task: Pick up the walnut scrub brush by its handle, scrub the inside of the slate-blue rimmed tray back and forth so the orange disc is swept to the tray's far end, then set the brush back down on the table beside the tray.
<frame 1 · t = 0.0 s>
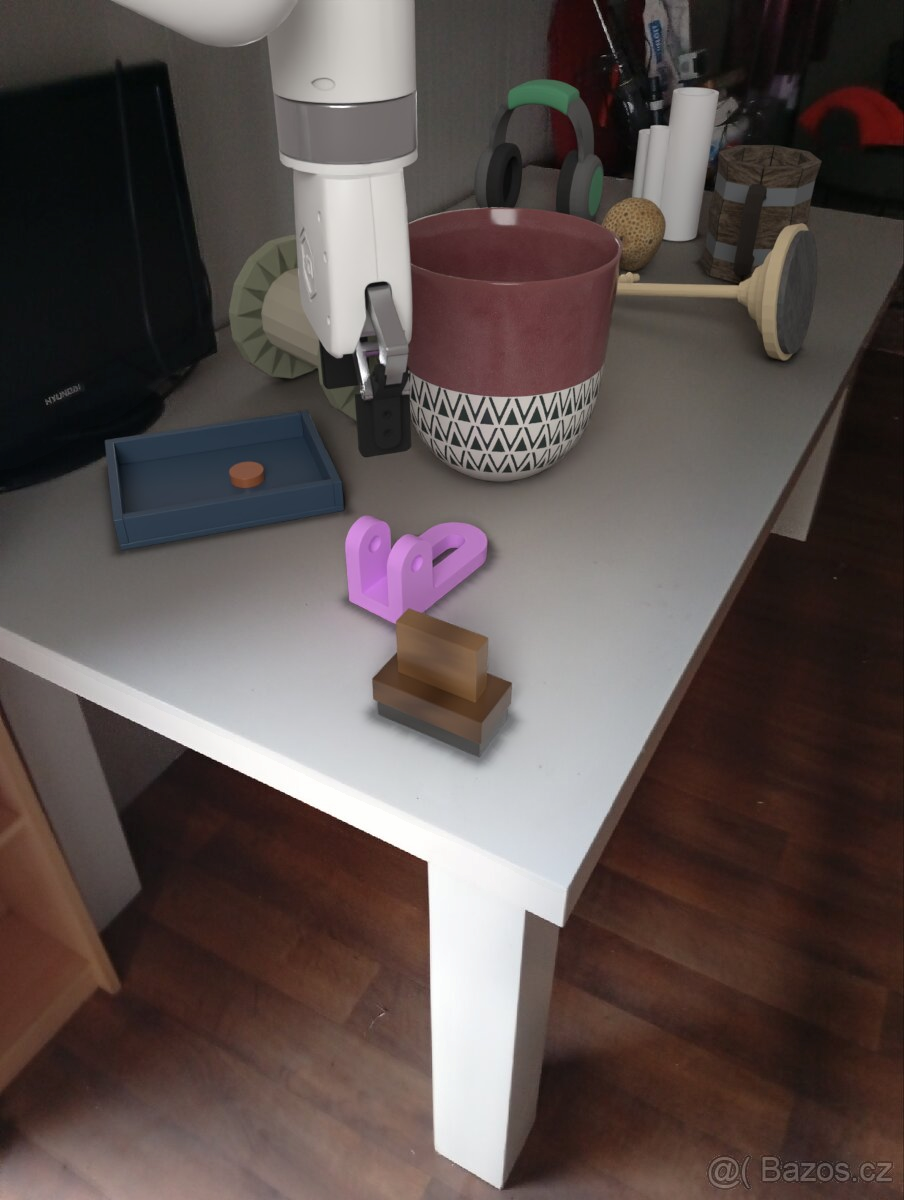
hand: (364, 416, 62), 18 cm above the table, tool pointing down, fingers open, 9 cm apart
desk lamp: (608, 345, 116), on the table
planter: (497, 466, 93), on the table
mug: (744, 276, 134), on the table
vase: (659, 233, 149), on the table
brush: (442, 717, 66), on the table
headphones: (536, 221, 154), on the table
orange disc: (247, 479, 89), point 1 cm above the table, touching tray
tray: (224, 488, 89), on the table
spool: (340, 395, 105), on the table
bracket: (427, 576, 79), on the table
natural sponge: (626, 272, 136), on the table
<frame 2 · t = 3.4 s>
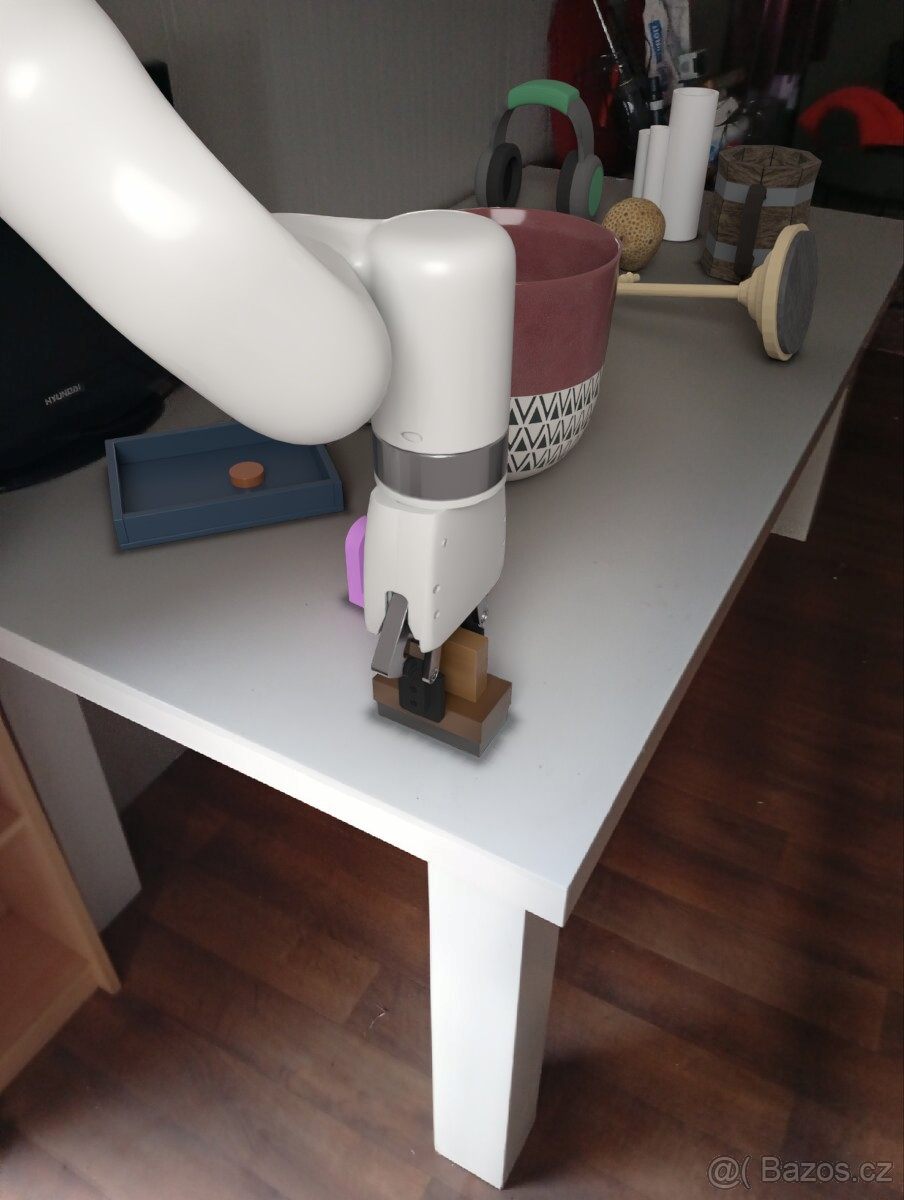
hand: (441, 687, 64), 3 cm above the table, tool pointing down, fingers closed on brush, 4 cm apart
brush: (442, 717, 66), on the table, touching gripper
everything else where it was.
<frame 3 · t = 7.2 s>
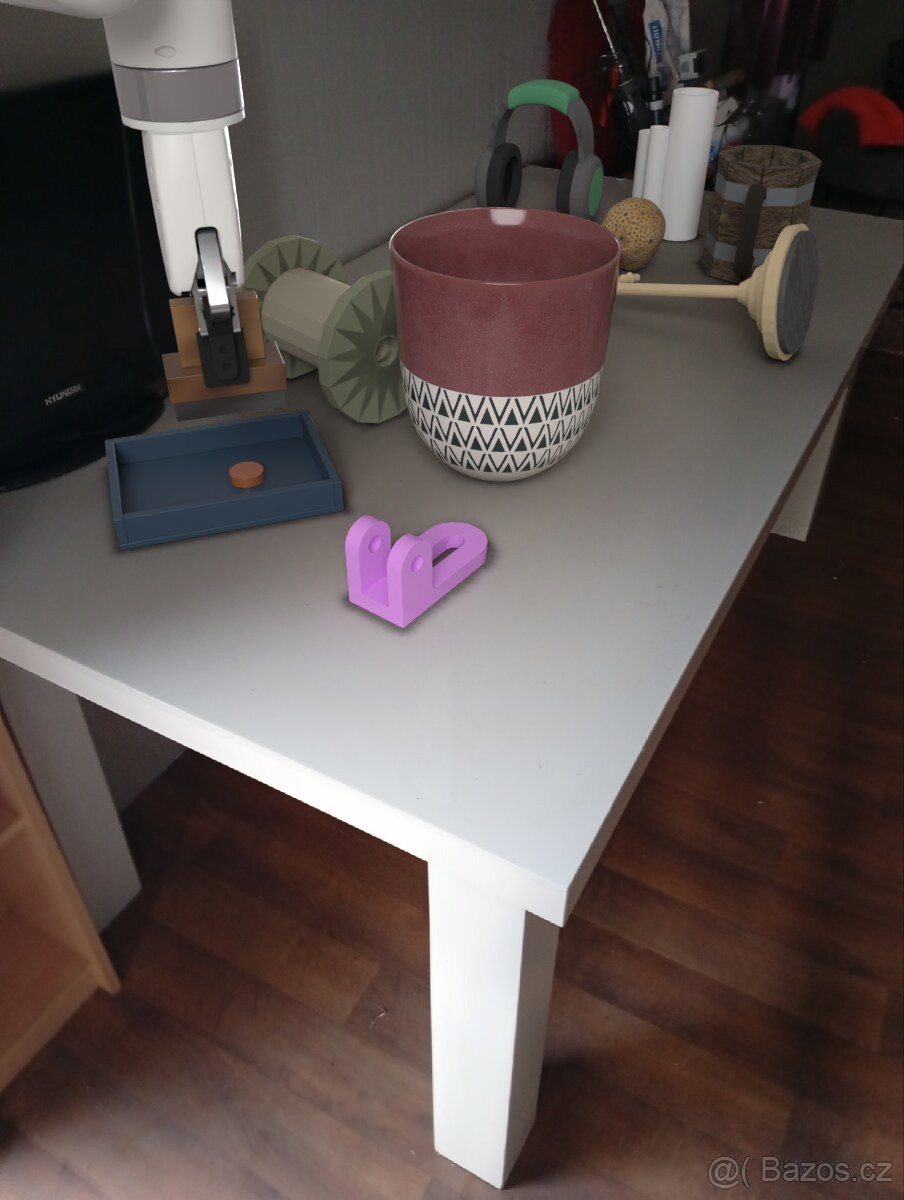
hand: (223, 367, 70), 17 cm above the table, tool pointing down, fingers closed on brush, 4 cm apart
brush: (229, 402, 72), point 14 cm above the table, touching gripper
everything else where it was.
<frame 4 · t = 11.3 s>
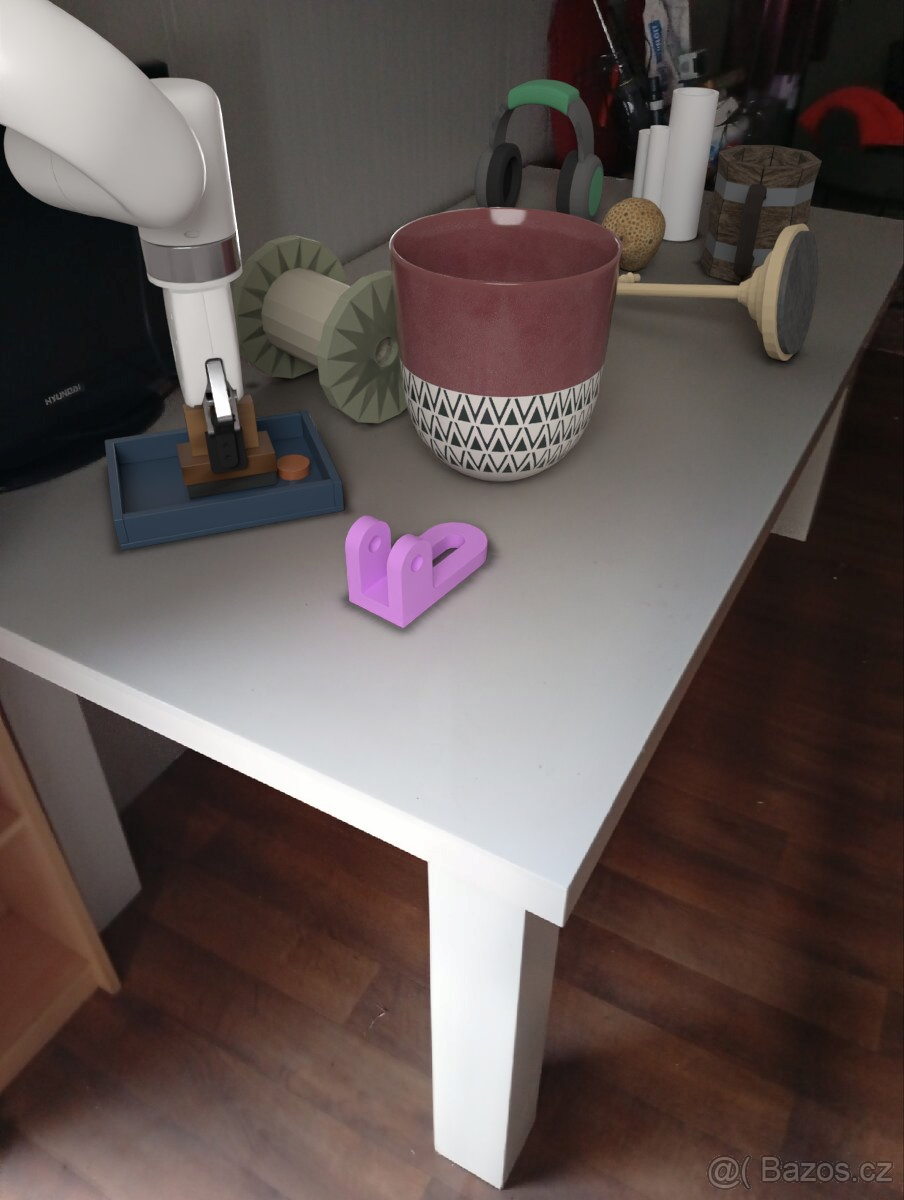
hand: (225, 454, 87), 4 cm above the table, tool pointing down, fingers closed on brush, 4 cm apart
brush: (230, 481, 89), point 1 cm above the table, touching gripper
orange disc: (293, 471, 90), point 1 cm above the table, touching tray
everything else where it was.
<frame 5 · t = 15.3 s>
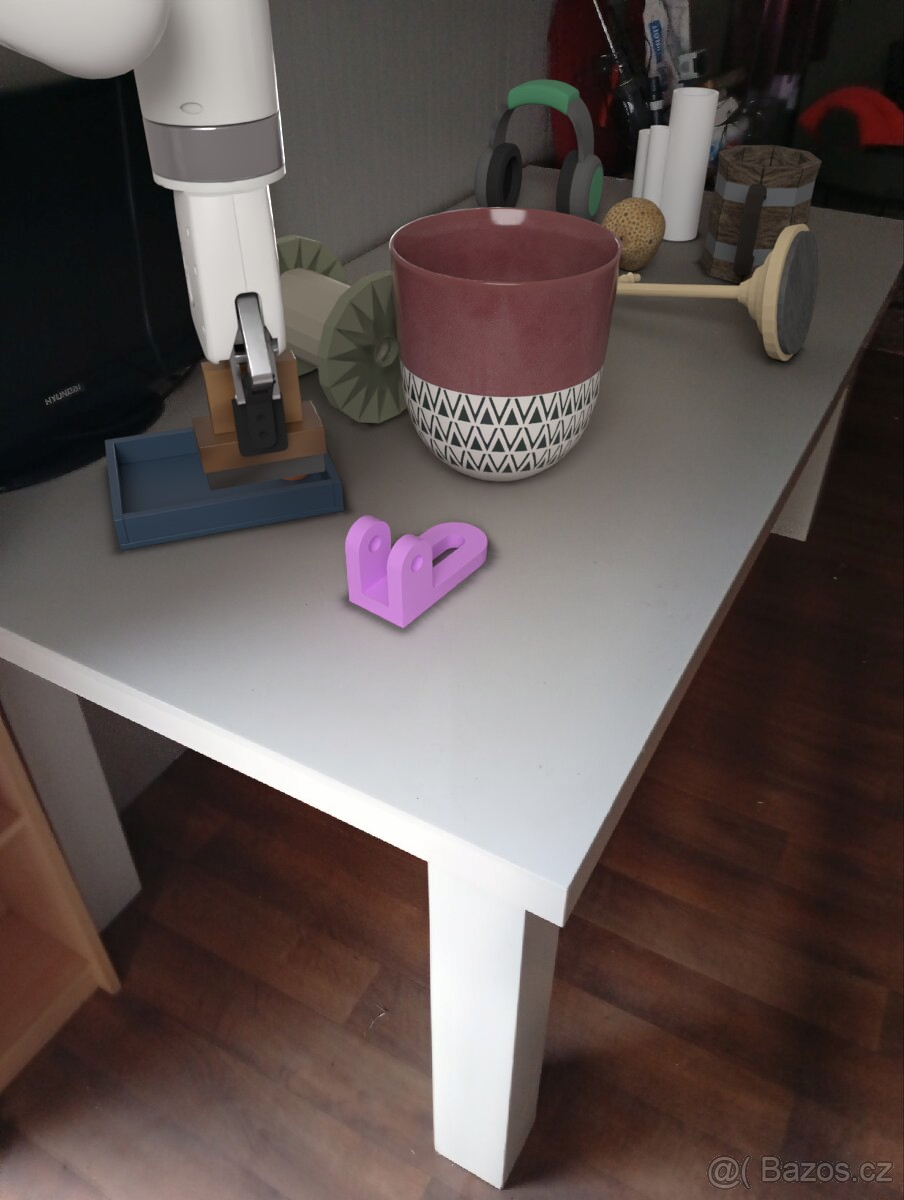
hand: (257, 431, 65), 16 cm above the table, tool pointing down, fingers closed on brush, 4 cm apart
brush: (263, 467, 67), point 13 cm above the table, touching gripper
everything else where it was.
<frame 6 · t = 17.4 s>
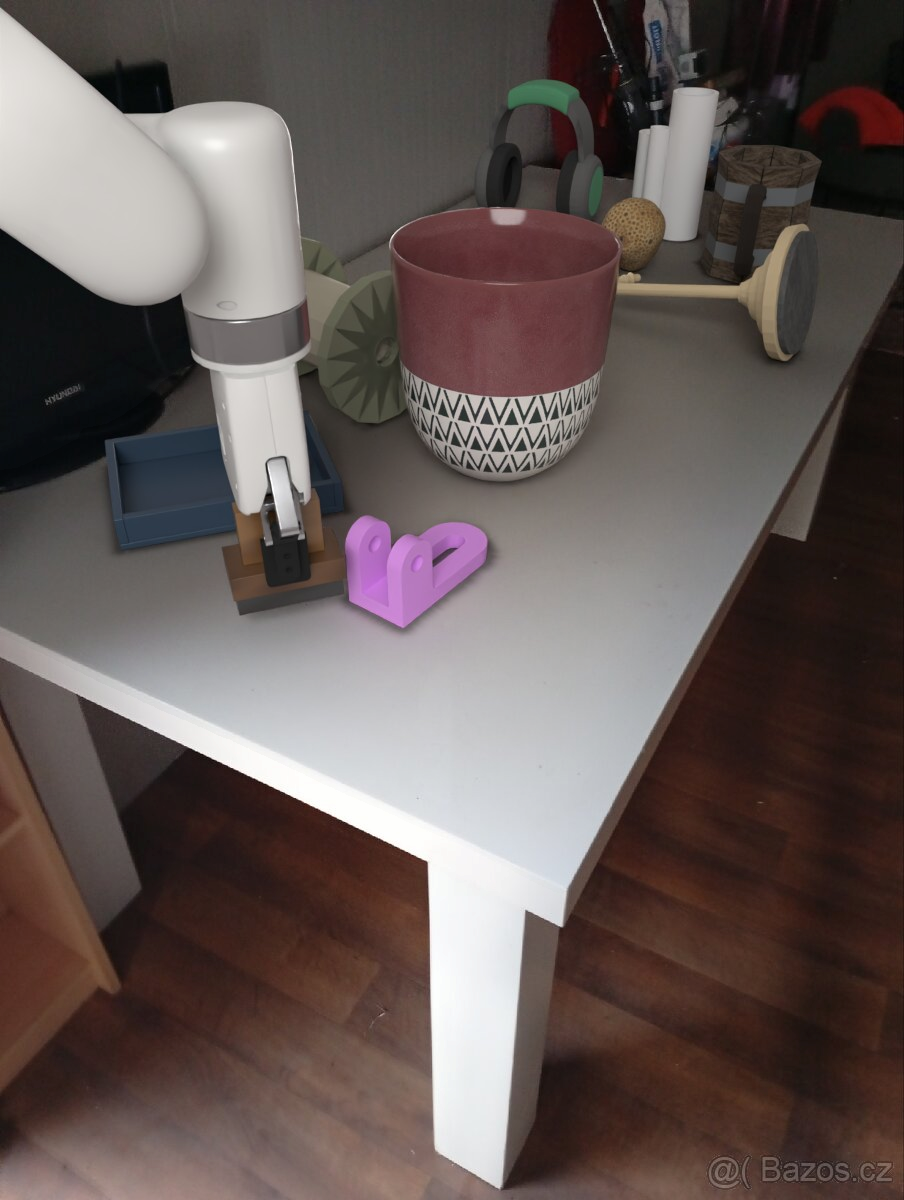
hand: (282, 559, 71), 6 cm above the table, tool pointing down, fingers closed on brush, 4 cm apart
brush: (287, 589, 72), point 3 cm above the table, touching gripper
everything else where it was.
when the fingers open (3 cm above the table, at t = 18.6 s): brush stays where it is, on the table.
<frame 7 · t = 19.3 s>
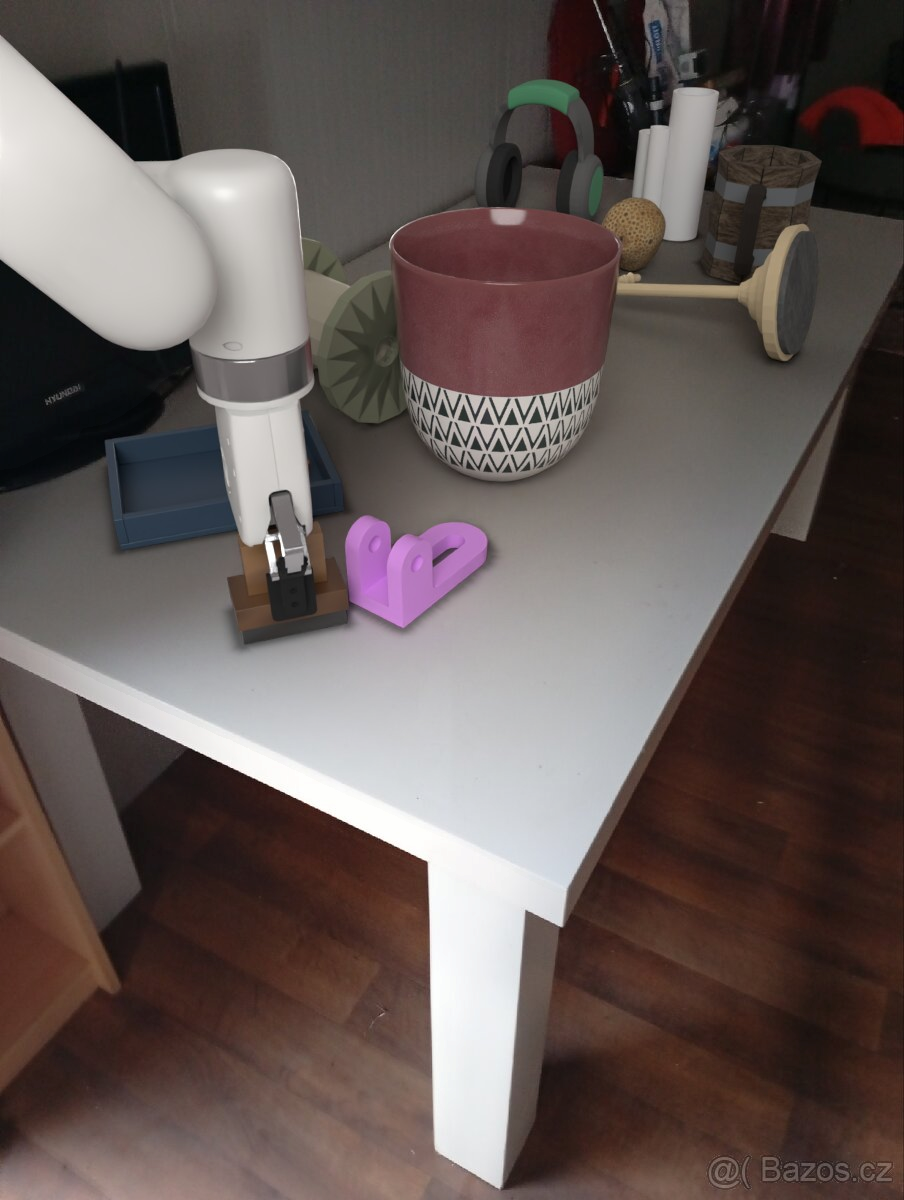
hand: (281, 576, 71), 4 cm above the table, tool pointing down, fingers open, 9 cm apart
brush: (291, 618, 74), on the table
everything else where it was.
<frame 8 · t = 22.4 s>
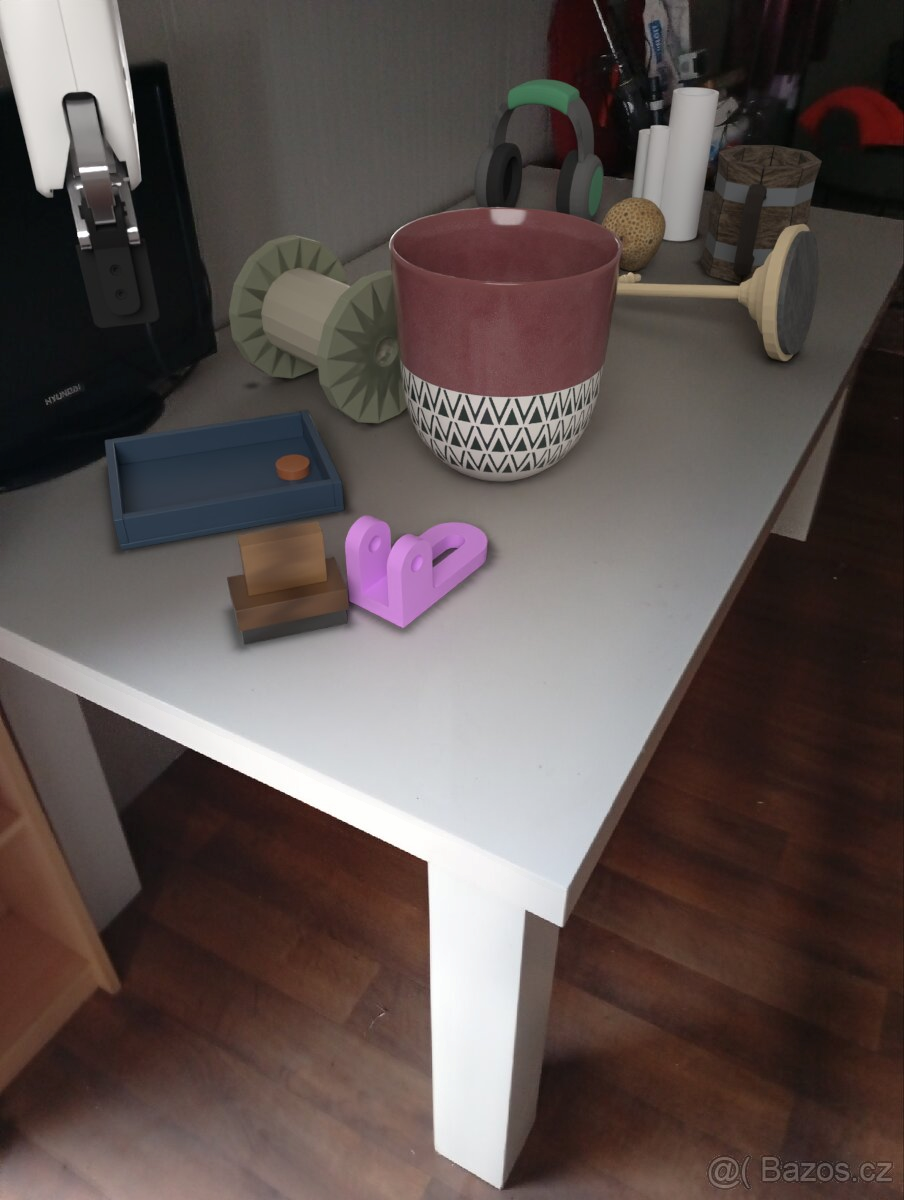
hand: (121, 289, 52), 28 cm above the table, tool pointing down, fingers open, 9 cm apart
nothing on the table moved.
at the end: orange disc 0.1 cm from the target spot in the tray, point 0.6 cm above the tray's base; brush inside the target area (0.2 cm from its centre), on the table; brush tilted 0° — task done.
